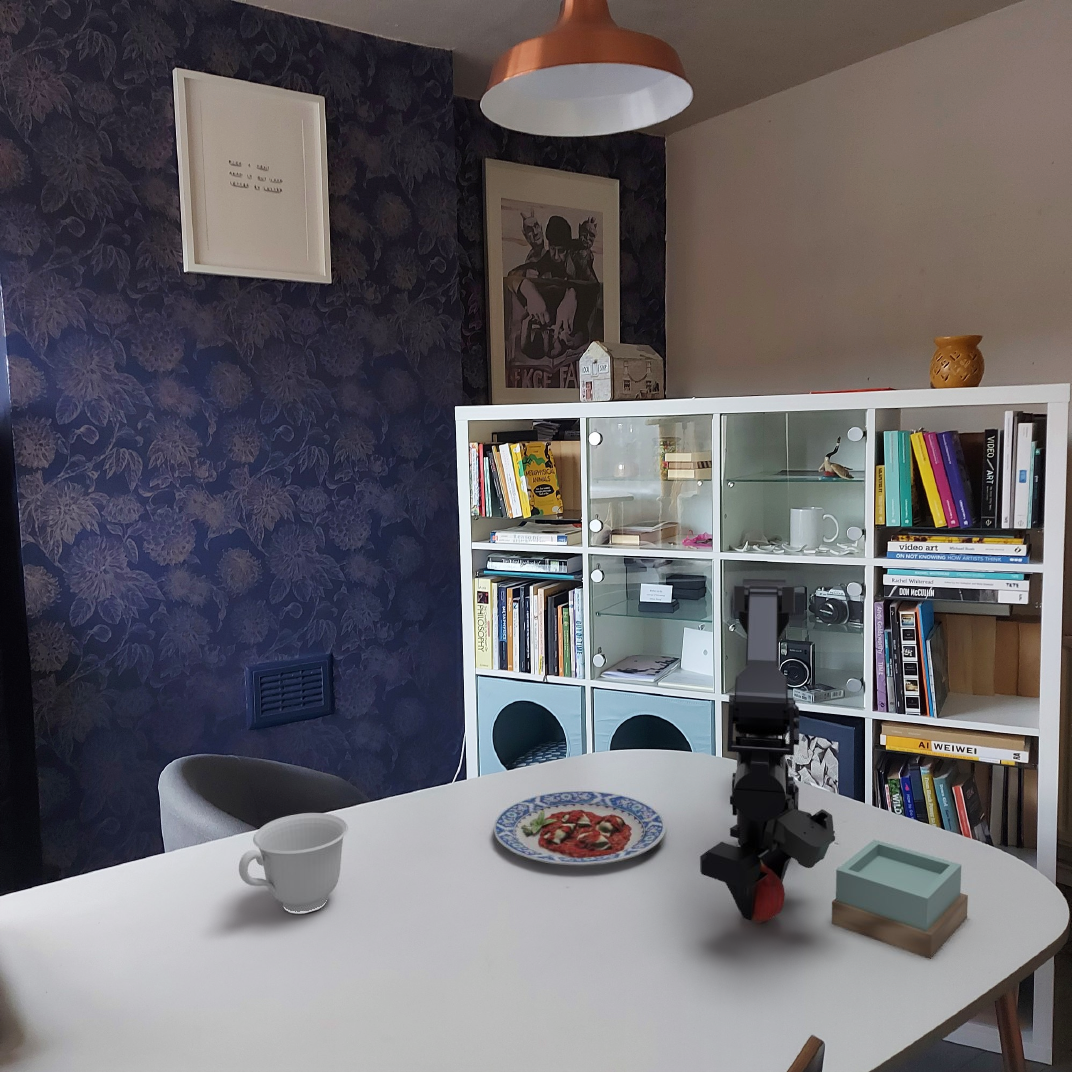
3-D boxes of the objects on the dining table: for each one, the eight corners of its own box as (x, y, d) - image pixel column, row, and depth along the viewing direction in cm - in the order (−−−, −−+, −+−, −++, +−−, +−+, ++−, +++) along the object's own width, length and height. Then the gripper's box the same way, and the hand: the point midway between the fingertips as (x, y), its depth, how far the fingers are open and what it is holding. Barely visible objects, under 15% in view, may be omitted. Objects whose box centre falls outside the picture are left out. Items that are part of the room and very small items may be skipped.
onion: (786, 913, 120) (786, 853, 119) (782, 937, 115) (783, 873, 114) (739, 907, 122) (739, 847, 121) (733, 930, 117) (733, 867, 116)
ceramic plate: (693, 823, 148) (693, 804, 148) (616, 895, 127) (615, 873, 126) (551, 792, 162) (550, 775, 162) (459, 852, 140) (458, 833, 140)
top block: (835, 900, 118) (836, 869, 117) (873, 868, 126) (874, 839, 125) (926, 931, 110) (927, 898, 110) (960, 895, 118) (961, 864, 118)
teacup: (219, 915, 124) (214, 841, 122) (317, 873, 134) (313, 805, 133) (270, 948, 115) (265, 869, 114) (370, 901, 126) (366, 828, 125)
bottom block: (831, 928, 118) (832, 901, 117) (872, 891, 127) (873, 866, 126) (930, 964, 110) (931, 935, 109) (966, 922, 119) (967, 895, 118)
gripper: (784, 831, 104) (783, 965, 106) (857, 780, 118) (855, 900, 120) (697, 805, 112) (697, 931, 114) (775, 761, 125) (774, 874, 127)
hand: (760, 909), depth 118 cm, fingers closed on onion, 6 cm apart
